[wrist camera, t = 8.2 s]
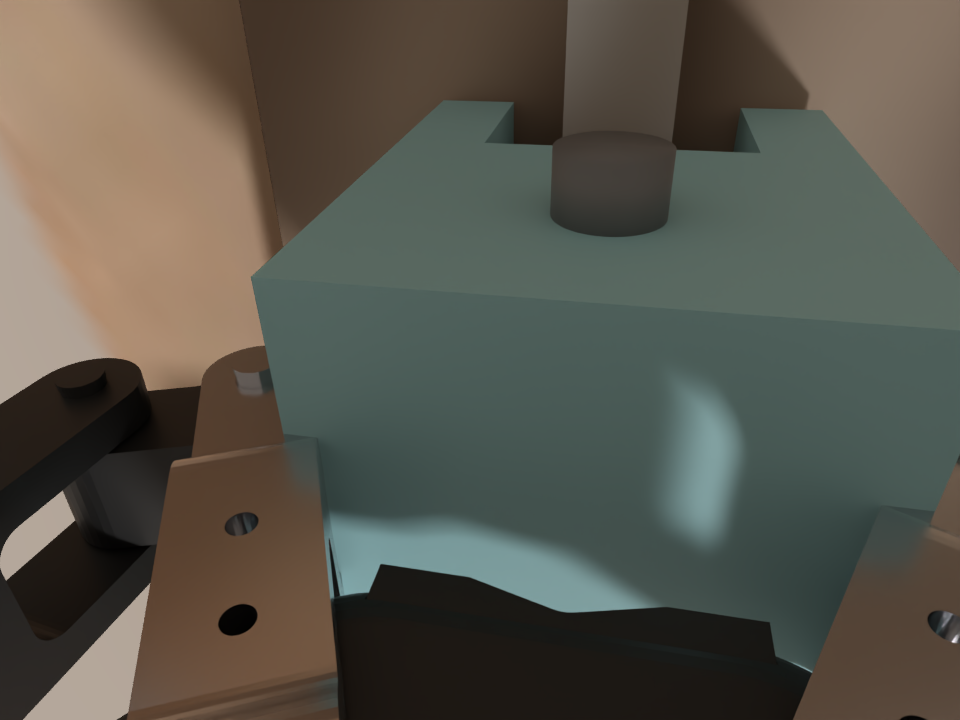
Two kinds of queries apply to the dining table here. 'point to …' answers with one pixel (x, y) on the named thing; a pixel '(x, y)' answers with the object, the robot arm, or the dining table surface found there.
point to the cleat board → (520, 60)
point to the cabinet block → (620, 365)
